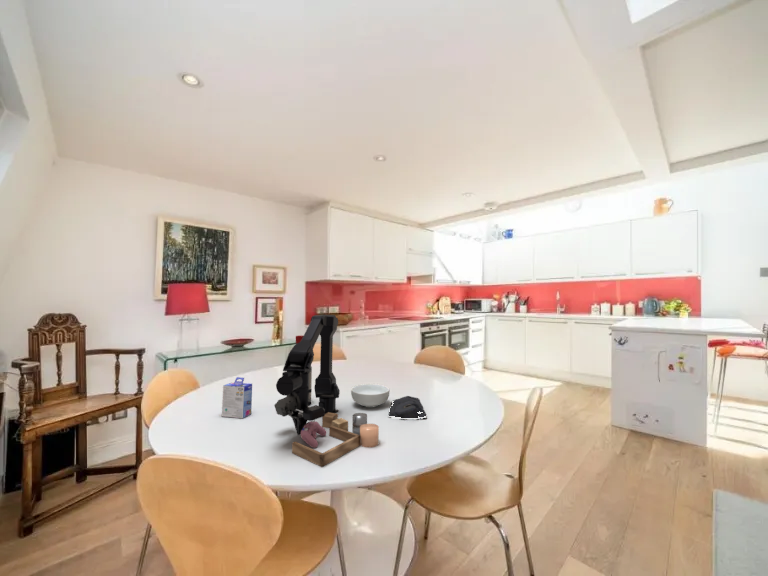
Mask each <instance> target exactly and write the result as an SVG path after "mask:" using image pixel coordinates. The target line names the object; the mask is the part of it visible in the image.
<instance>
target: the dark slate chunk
mask: <svg viewBox="0 0 768 576" xmlns="http://www.w3.org/2000/svg"><path fill="white" fill-rule="evenodd" d="M392 401H394V402H393V403H394V404H393V406H391V408H390V407H389V408H390V412H389V411H388V415H389V416H395V417H401V418H418V416H419V417H424V416H426V415H427V412H426V411H425V410H423V409H424V406H423V404H422V402H421V400H420V398H418V397H415V396H410V395H406V396H402V397H400V398H397V399H393V400H392ZM419 411H420V412H423V413H421V414H418V413H417V412H419Z"/></svg>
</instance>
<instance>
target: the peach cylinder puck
mask: <svg viewBox="0 0 768 576" xmlns="http://www.w3.org/2000/svg"><path fill="white" fill-rule="evenodd" d="M379 427H380V426H379V425H377V424H375V423H367V424H363V425H361V426H360V435H361V443H360V446H361V447H363V448H375V447H377V446H378V445H379V444H378V443H379V437H380V436H379V433H380V431H379V430H380V429H379Z"/></svg>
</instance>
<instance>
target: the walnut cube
mask: <svg viewBox="0 0 768 576" xmlns="http://www.w3.org/2000/svg"><path fill="white" fill-rule="evenodd" d="M338 415H339V414H338V413H337V412H335V413H330V412H328V413H326V414H325V416H323V417H321V418H322V423H321V424H322V425H321V426H322V427H323V428H324V429H326V428H327V429H329V427H330V426H332V421H333V420H336V419H339V417H338Z"/></svg>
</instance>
